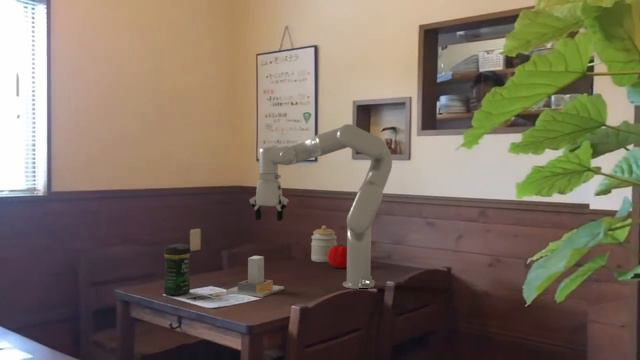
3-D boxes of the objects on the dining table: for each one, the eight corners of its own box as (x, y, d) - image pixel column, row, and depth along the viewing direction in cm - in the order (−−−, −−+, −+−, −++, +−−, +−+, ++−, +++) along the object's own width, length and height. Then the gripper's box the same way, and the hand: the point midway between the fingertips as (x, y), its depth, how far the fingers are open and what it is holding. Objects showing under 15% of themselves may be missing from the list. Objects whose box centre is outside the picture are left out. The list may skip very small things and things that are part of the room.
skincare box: (254, 286, 238) (254, 255, 237) (264, 287, 236) (264, 256, 236) (247, 289, 232) (247, 257, 231) (257, 290, 231) (258, 258, 230)
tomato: (331, 270, 280) (331, 246, 279) (325, 265, 291) (325, 242, 290) (356, 269, 282) (356, 245, 282) (349, 265, 294) (349, 242, 293)
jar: (308, 262, 301) (309, 226, 301) (313, 257, 314) (313, 223, 314) (334, 263, 299) (335, 227, 299) (338, 258, 312) (338, 224, 312)
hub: (283, 289, 238) (284, 280, 238) (262, 297, 223) (262, 287, 223) (248, 285, 245) (249, 276, 245) (226, 292, 230) (226, 283, 230)
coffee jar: (178, 297, 222) (178, 246, 221) (160, 295, 225) (160, 245, 224) (193, 292, 231) (193, 243, 230) (176, 290, 234) (176, 241, 233)
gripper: (292, 177, 246) (292, 220, 247) (254, 177, 253) (254, 218, 253) (283, 178, 239) (284, 221, 240) (245, 178, 246) (245, 220, 246)
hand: (269, 220), depth 247 cm, fingers open, 9 cm apart
